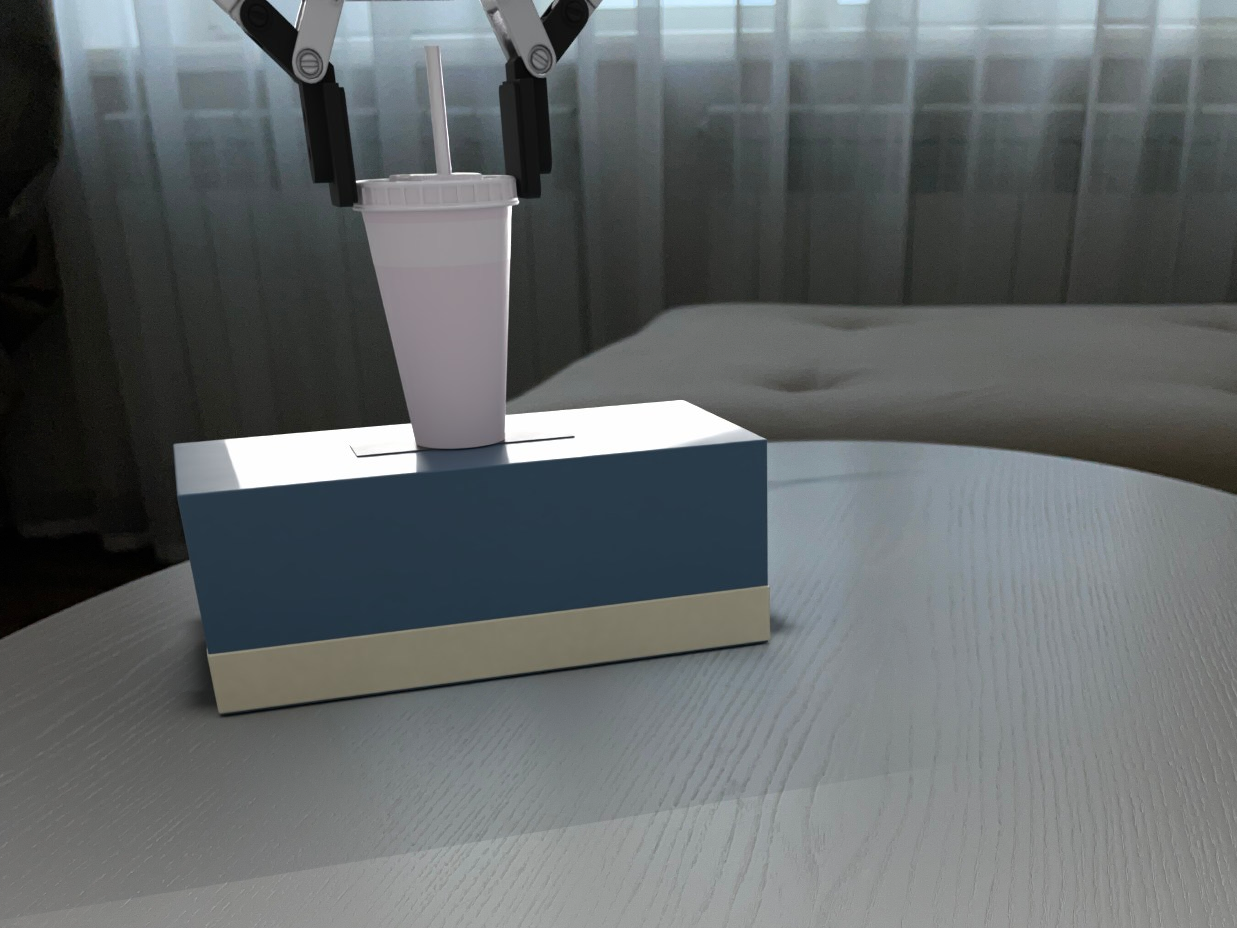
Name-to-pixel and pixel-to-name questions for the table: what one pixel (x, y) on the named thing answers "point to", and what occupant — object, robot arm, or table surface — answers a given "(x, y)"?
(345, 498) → the tissue box
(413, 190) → the smoothie
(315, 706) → the table surface
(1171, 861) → the table surface
